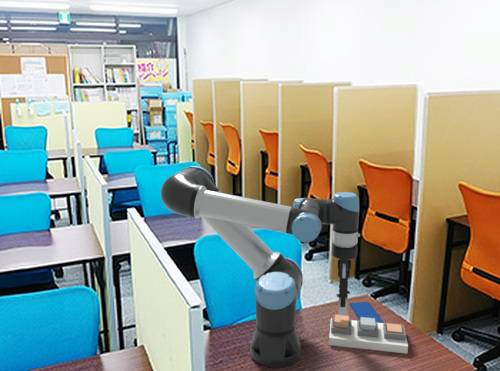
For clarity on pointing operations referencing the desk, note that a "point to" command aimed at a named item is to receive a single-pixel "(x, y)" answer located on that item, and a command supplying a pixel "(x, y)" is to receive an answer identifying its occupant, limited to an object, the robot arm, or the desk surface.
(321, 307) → the desk surface
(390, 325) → the right key
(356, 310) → the smartphone
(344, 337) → the white button panel
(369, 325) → the middle key
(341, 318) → the left key
